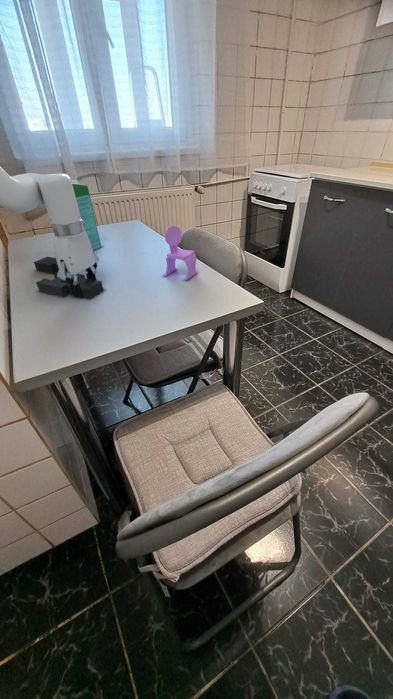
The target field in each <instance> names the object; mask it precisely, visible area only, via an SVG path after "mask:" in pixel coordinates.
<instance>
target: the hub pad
mask: <svg viewBox="0 0 393 699" xmlns="http://www.w3.org/2000/svg"><path fill="white" fill-rule="evenodd" d="M57 274H58V272H55V273H53V277H54V279H48V278H42V279H40V280H38V281H36V282H35V284H36V286H37V289H38V291H39V292H40V293H44V294H48V295H53V296H57V297H62V298H65V297H66V296H68V295H70V294H69V291H68V288H67V285H68V283H63V280H61V279H59V278H57ZM65 276H67V272H66V273H65ZM71 278H73V275H71ZM79 278H86V274H82V273H78V274H77V279H79Z"/></svg>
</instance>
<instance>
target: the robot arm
mask: <svg viewBox="0 0 393 699" xmlns="http://www.w3.org/2000/svg"><path fill="white" fill-rule="evenodd" d="M71 180H72V178H71V177H70V176H69V175H68V174H66V173H49V174H42V173H36V172H35V173H34V172H26V173H21V174H15V175H12V176H11V175H9V173H7V172H6V171H5V169H3V168H2V167H1V166H0V206H1V207H2V208H4V209H5V210H6V211H8V212H11V213H14V214H25V213H28V212H30V211H33V210H35V209H39V208H41V207H43V206H45V209H46V213H47V215H48V218H49V221H50V224H51V228H52V231H53V234H54V236H53V237H52V245H53V251H54V255H55V258H56V260H57V264H58V267H59V271H58V274H57V278H59V279H61V280H63V281H65V282H67V283H68V284H70V287H71V290H72V293H73V295H72V296H73V297H77V298H83V297H82V296H83V295H82V291H81V288H80V284H77V274H81V273H82V272H83V271H85V272H86V274H85V277H86V279H91V280H97V281H98V279H97V268H98V263H99V260H100V257H99V256H98V255H96V254H95V253H94V250H93V249H92V246H91V243H90V241H89V238H88V236H87V233H86V231H85V230H84V228H83V224H84V222H83V220H82V219H81V216H80V212H79V209H78V205H77V201H76V197H75V193H74V189H73V185H72V182H71ZM66 272H67V276H65V273H66ZM71 275H73V279H71Z"/></svg>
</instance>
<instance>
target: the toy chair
mask: <svg viewBox="0 0 393 699" xmlns="http://www.w3.org/2000/svg"><path fill="white" fill-rule="evenodd" d="M164 240H165V243H166V244H168V245H169V251H170V252H168V253H167V254H166V258H165V259H166V260H165V261H166V270H165V274H164V277H167V276H168V275H170V274H171V273H173V272H175V271H176V270H177V267H176V260H180V261H183V262H184V263H185V265H186V267H187V274H186V277H185V281H188V280H189V279H191V278H192V277H193V276H195V275H196V274H197V268H196V267H197V255H196V252H195V250H189V249H183V248H179V247H178V246H179V244H180V243H181V241H182V230H181V228H180V227H179V226H176V225H170V226H168V227H167V228H166V230H165V234H164Z"/></svg>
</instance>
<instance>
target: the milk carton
mask: <svg viewBox="0 0 393 699" xmlns="http://www.w3.org/2000/svg"><path fill="white" fill-rule="evenodd" d="M71 182H72V185H73V189H74V193H75V197H76V201H77V205H78V209H79V212H80V216H81V219H82V220H83V222H84V224H83V228H84V230H85V231H86V233H87V236H88V238H89V241H90V243H91V246H92V249H93V251H94V250H97V249H99V248H102V244H101V238H100V235H99V230H98V227H97V226H98V225H97V222H96V217H95V213H94V208H93V203H92V199H91V194H90V191H89V185H86V184H80V183H79V180H76V179H71Z"/></svg>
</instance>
